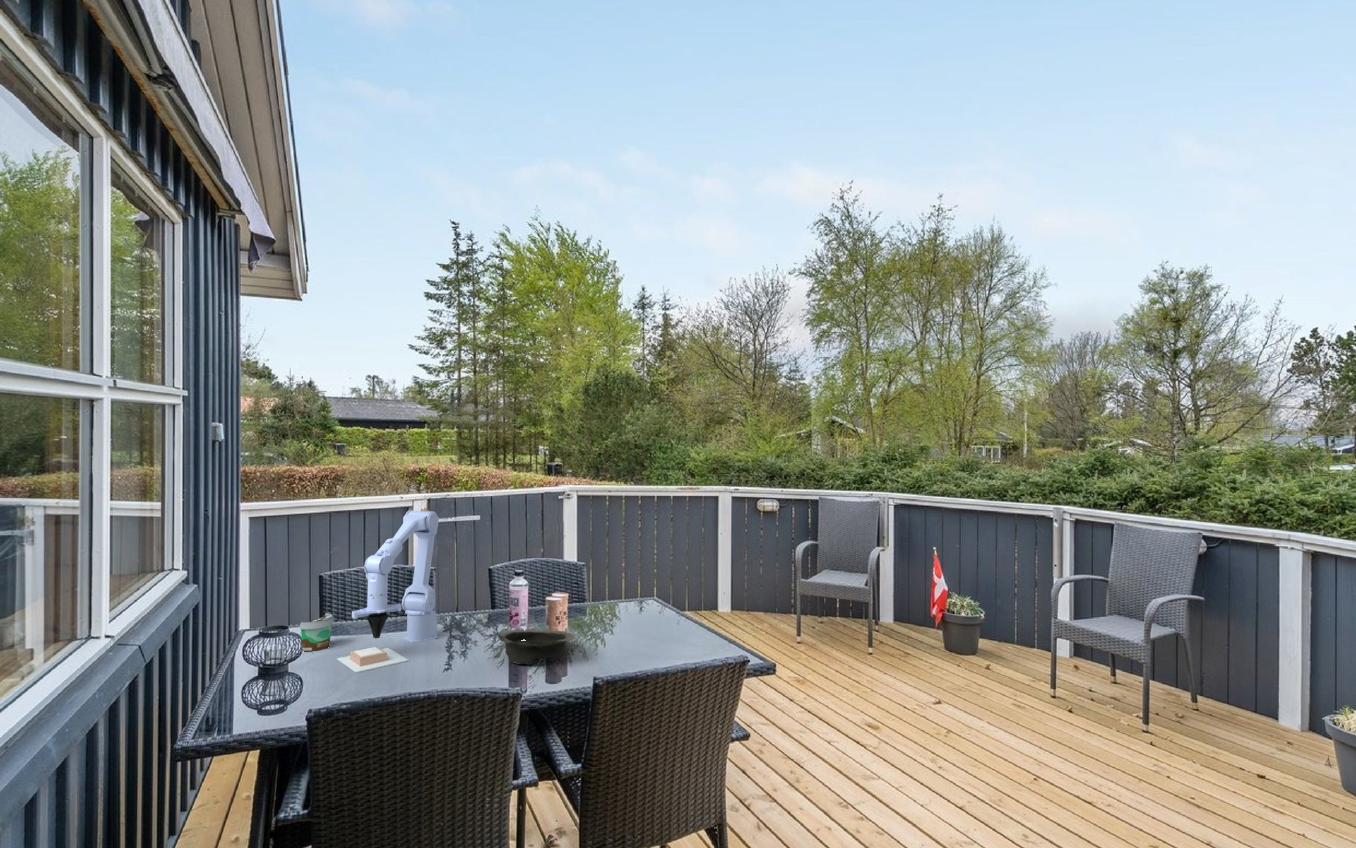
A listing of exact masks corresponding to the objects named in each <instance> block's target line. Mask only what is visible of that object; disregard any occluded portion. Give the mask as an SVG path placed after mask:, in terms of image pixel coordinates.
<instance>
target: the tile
mask: <svg viewBox="0 0 1356 848" xmlns="http://www.w3.org/2000/svg"><path fill="white" fill-rule="evenodd" d="M380 648H381V647H378V646H373V647H372V646H371V647H367V648H363V649H358V650H352V651H350V653H349V654H350V660H351V661H353V662H354V663H356V664H357V665H358V666H365V665H369V664H374V663H378V662H383V661H387V652H385V651H383V650H382V649H380Z"/></svg>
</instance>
